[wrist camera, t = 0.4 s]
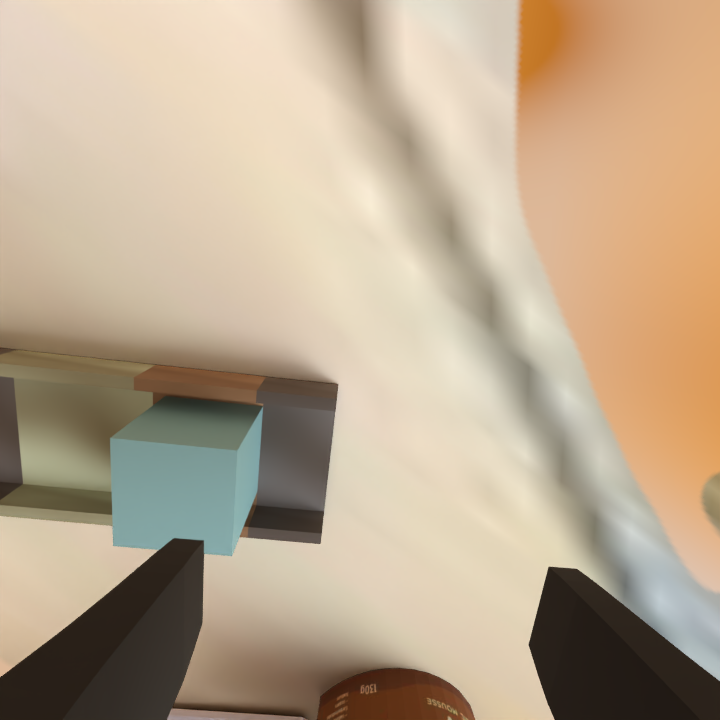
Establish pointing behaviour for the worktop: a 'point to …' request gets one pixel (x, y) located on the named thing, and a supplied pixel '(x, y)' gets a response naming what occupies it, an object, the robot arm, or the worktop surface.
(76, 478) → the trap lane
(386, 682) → the food container
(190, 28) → the worktop surface
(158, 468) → the teal block
